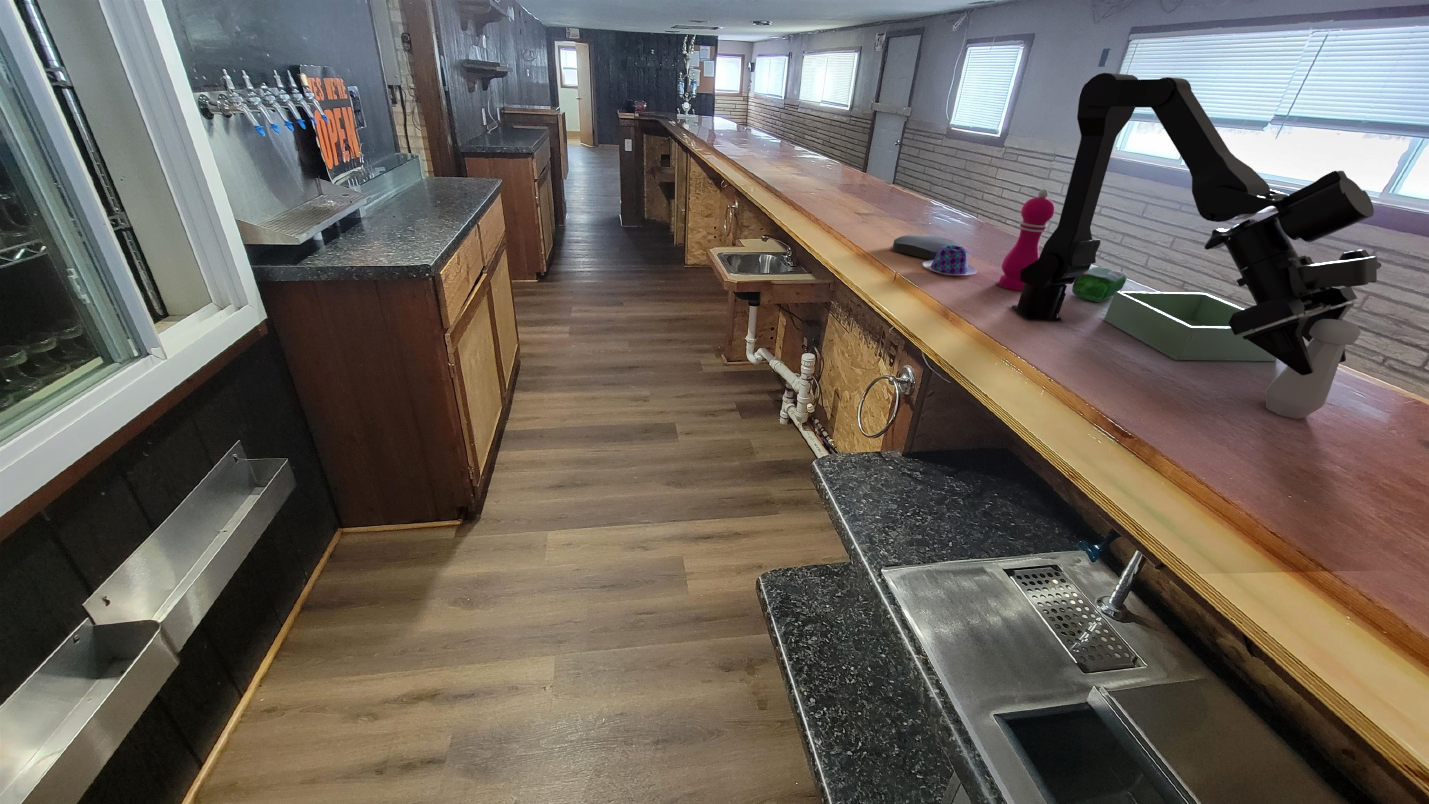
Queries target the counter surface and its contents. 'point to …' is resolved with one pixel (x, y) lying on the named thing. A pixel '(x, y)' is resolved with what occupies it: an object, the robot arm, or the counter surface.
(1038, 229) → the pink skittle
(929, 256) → the media streaming box
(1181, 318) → the bin
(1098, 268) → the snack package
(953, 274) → the patterned bucket hat
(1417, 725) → the counter surface
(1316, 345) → the salt shaker
